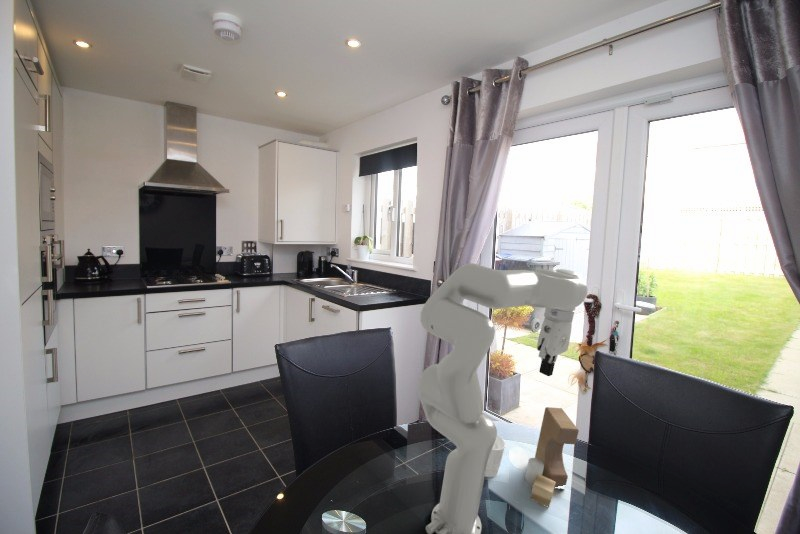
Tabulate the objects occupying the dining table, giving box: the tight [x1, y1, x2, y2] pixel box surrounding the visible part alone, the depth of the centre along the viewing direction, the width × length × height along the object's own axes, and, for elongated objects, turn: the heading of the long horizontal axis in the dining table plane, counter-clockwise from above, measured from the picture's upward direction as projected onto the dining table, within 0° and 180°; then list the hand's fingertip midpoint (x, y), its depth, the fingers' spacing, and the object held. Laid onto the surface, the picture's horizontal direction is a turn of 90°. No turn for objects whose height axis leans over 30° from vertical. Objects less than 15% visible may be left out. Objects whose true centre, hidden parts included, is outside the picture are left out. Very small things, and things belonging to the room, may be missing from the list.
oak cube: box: [530, 474, 556, 508], centre depth 110 cm, size 5×5×5 cm
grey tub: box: [524, 457, 544, 486], centre depth 116 cm, size 4×4×6 cm
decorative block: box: [534, 406, 580, 487], centre depth 117 cm, size 11×6×20 cm, turn 2°
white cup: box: [484, 434, 506, 478], centre depth 118 cm, size 8×8×10 cm
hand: (545, 373), depth 113 cm, fingers closed
